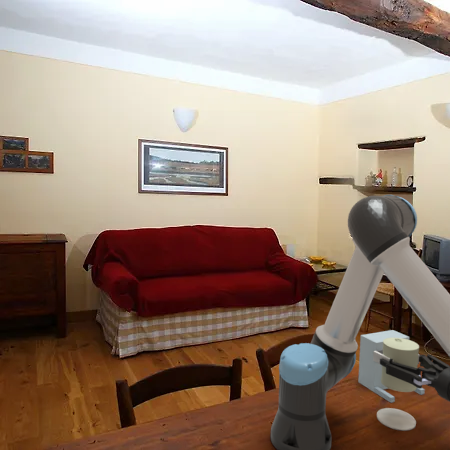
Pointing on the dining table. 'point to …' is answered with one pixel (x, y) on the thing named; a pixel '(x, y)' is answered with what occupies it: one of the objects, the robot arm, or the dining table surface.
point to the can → (399, 361)
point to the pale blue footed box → (372, 370)
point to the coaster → (396, 419)
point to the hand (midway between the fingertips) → (387, 353)
